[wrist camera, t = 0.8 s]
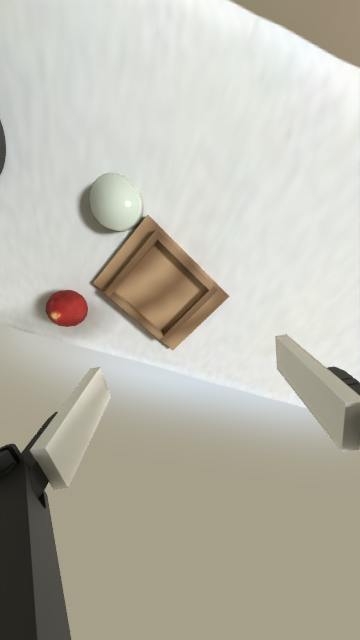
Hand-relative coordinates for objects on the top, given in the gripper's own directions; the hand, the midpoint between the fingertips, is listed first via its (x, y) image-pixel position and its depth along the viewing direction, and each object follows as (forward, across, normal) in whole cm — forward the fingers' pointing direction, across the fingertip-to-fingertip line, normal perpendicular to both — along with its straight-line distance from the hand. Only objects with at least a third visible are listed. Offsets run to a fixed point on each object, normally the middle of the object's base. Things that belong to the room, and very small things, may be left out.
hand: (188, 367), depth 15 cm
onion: (+22, -19, +3) cm, 29 cm away
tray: (+22, -3, +2) cm, 22 cm away
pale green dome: (+22, -7, +16) cm, 28 cm away
